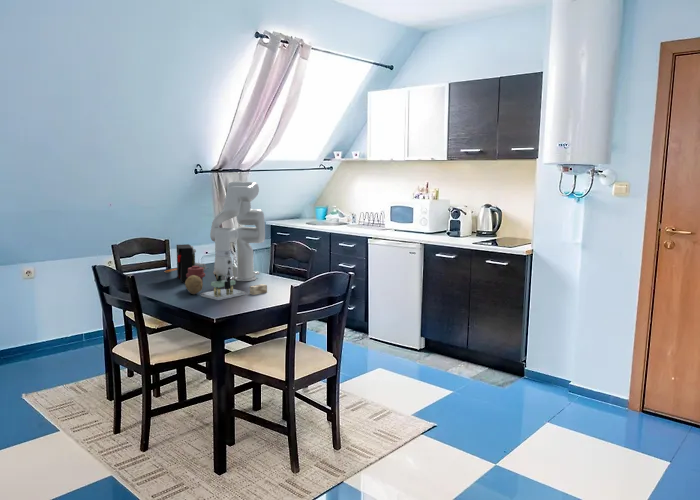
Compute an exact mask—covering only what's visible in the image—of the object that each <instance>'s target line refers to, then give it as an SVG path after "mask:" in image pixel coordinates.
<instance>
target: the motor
mask: <svg viewBox="0 0 700 500" xmlns="http://www.w3.org/2000/svg"><path fill="white" fill-rule="evenodd" d="M195 266H199V267H203V268H204V272H205V271H206V269H207V270H209V269H210V268H209V267H207V265H206V264H205V263H200V262H195ZM173 271H177V267H176V268H172V269H167V270H165V271H164V272H165V273H170V272H173Z"/></svg>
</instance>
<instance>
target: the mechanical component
mask: <svg viewBox="0 0 700 500" xmlns="http://www.w3.org/2000/svg"><path fill="white" fill-rule="evenodd" d="M192 275H196V276H198V277H200V278H201V280H202V283H203V282H204V281H203V280H204V279H203V278H205V277H206V273H205V271H204V268H203V267H199V266H192V267H190V268H188V273H187V274H186V277H187V278H188V277H190V276H192ZM203 285H204V283H203V284H202V286H203Z"/></svg>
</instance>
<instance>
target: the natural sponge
mask: <svg viewBox="0 0 700 500" xmlns="http://www.w3.org/2000/svg"><path fill="white" fill-rule="evenodd" d="M202 284H203V285H204V283H202V280H201V278H200V277H198V276H196V275H192V276H190V277H188V278H187V279H186V281H185V283H184V285H185V288H186V290H187V291H188V292H189V293H190V294H192V295H196V294H198V293H200V292H201V291H202V290H203V285H202Z"/></svg>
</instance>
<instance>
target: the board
mask: <svg viewBox="0 0 700 500" xmlns="http://www.w3.org/2000/svg"><path fill="white" fill-rule="evenodd" d="M225 282H226V281H225V279H222V280H220V281H217V280H216V281H215V280H213V281H210V287H213V288H214V287H218V288H225ZM234 285H236V280H235V279H231V281H230V286H234Z"/></svg>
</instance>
